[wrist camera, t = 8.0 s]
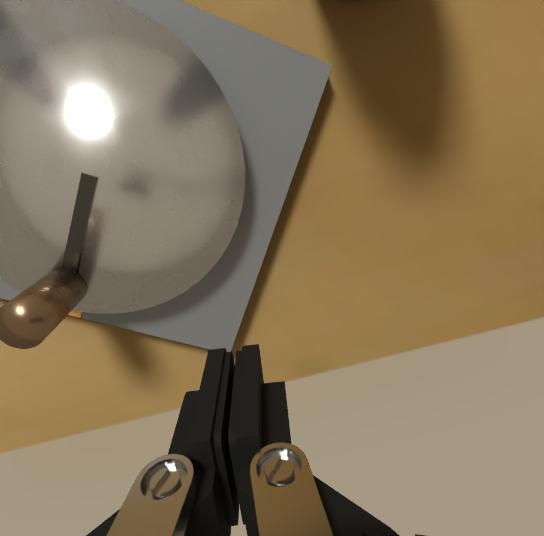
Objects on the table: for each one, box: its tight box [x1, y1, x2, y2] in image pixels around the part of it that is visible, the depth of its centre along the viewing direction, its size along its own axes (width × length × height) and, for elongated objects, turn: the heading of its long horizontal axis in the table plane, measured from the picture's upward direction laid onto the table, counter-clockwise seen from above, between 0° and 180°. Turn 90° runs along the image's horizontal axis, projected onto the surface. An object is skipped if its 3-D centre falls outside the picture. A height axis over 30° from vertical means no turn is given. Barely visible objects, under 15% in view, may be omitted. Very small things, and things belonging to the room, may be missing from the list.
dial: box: [0, 0, 245, 349], centre depth 18 cm, size 17×17×6 cm
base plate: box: [0, 0, 332, 352], centre depth 22 cm, size 22×20×2 cm
